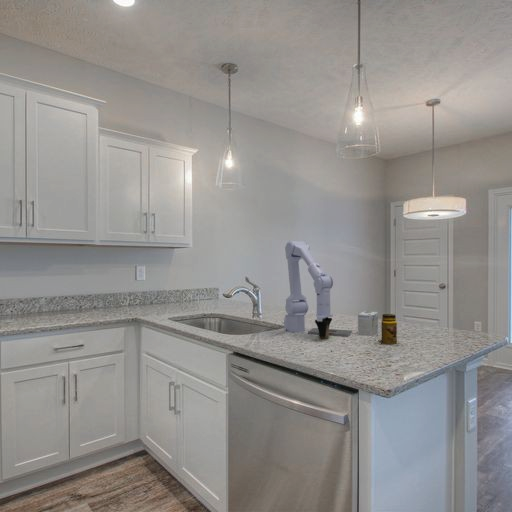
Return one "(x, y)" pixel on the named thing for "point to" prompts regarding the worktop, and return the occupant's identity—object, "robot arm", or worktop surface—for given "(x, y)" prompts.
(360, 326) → the light bulb box
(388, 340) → the condiment
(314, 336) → the pad
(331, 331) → the hole plate
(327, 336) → the peg
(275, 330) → the worktop surface
